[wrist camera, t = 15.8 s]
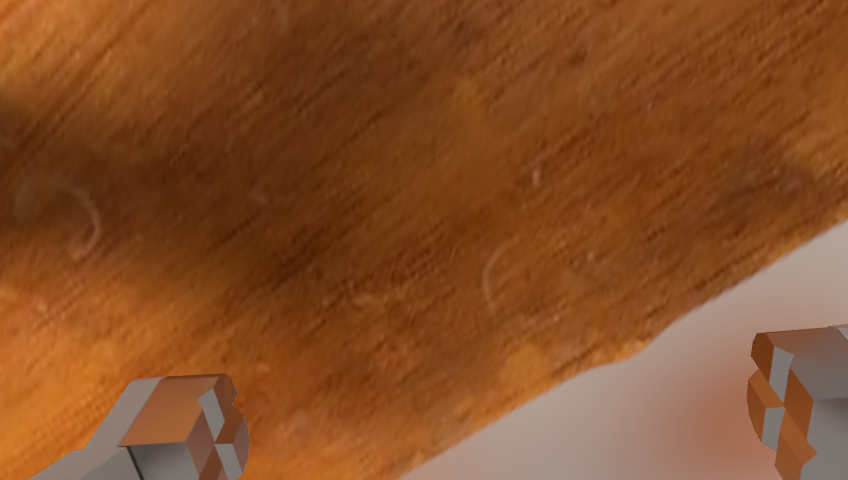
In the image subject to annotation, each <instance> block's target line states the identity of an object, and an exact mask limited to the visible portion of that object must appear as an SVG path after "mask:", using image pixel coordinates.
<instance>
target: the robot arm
mask: <svg viewBox="0 0 848 480" xmlns="http://www.w3.org/2000/svg"><path fill="white" fill-rule="evenodd" d="M751 357H752V358H753V360H754V361H755V363H756V364H757V366H758V368H759V369H758V370H757V371H756V372H755V373H754V374H753V375H752V377H751V378H750V379H749V380H748V390H747V401H748V408H749V415H750V419H751V421H752V424H753V427H754V430H755V432H756V433H757V435H758V437H759V439H760V441H761V442H762V443H763V444H765V445H766V446H768V447H770V448H771V449H773V450H775V451H776V452H777V454H776V460H775V467H776V469H777V470H778V472H779V474H780V476H781V477H782V479H783V480H848V324H845V325H835V326H828V327H827V328H815V329H802V330H790V331H780V332H779V331H778V332H766V333H757V334H756V336H755V339H754V341H753V346H752V352H751ZM236 395H237V392H236V389H235V386H234V384H233V381H232V378H231V377H230V376H228V375H227V374H225V373H220V374H202V375H183V376H167V377H152V378H139V379H136V380H134V381H132V382H130V383H129V385H128V386H127V388H126V389H125V390H124V392H123V393H122V395H121V396H120V398H119V399H118V401H117V402H116V403H115V405H114V406H113V408H112V409H111V411H110V412H109V413H108V415H107V416H106V418H105V419H104V421H103V422H102V423H101V425H100V426H99V428H98V429H97V431H96V432H95V433H94V435H93V436H92V438H91V439H90V441H89V442H88V444H87V445H86V446H85V448H84V449H83V450H73V451H72V452H70V453H69V454H67V455H66V456H64V457H63V458H61V459H59V460H58V461H56V462H55V463H53V464H52V465H50V466H49V467H47V468H46V469H44V470H42V471H41V472H39V473H38V474H36V475H35V476H33V477H32V478H30V479H28V480H236V479H237V478H239V477H240V476H241V475H242V474H243V471H244V468H245V465H246V463H247V460H248V451H249V433H248V426H247V423H246V420H245V416H244V415H243V414H242V413H241V412H240V411H238V410H237V409H236V408H235V407H233V406H232V404H233V402H234V400H235V397H236Z"/></svg>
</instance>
